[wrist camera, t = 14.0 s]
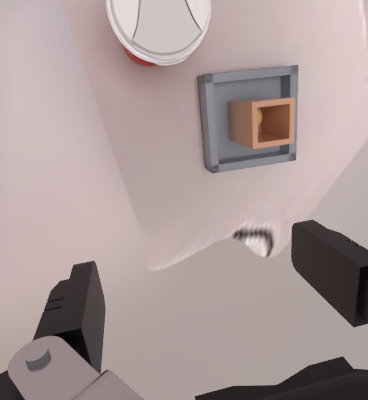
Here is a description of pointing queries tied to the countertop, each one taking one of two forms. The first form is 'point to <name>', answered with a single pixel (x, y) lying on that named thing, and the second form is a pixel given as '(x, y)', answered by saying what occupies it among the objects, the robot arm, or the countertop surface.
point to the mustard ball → (259, 116)
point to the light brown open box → (270, 125)
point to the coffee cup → (159, 28)
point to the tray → (218, 115)
